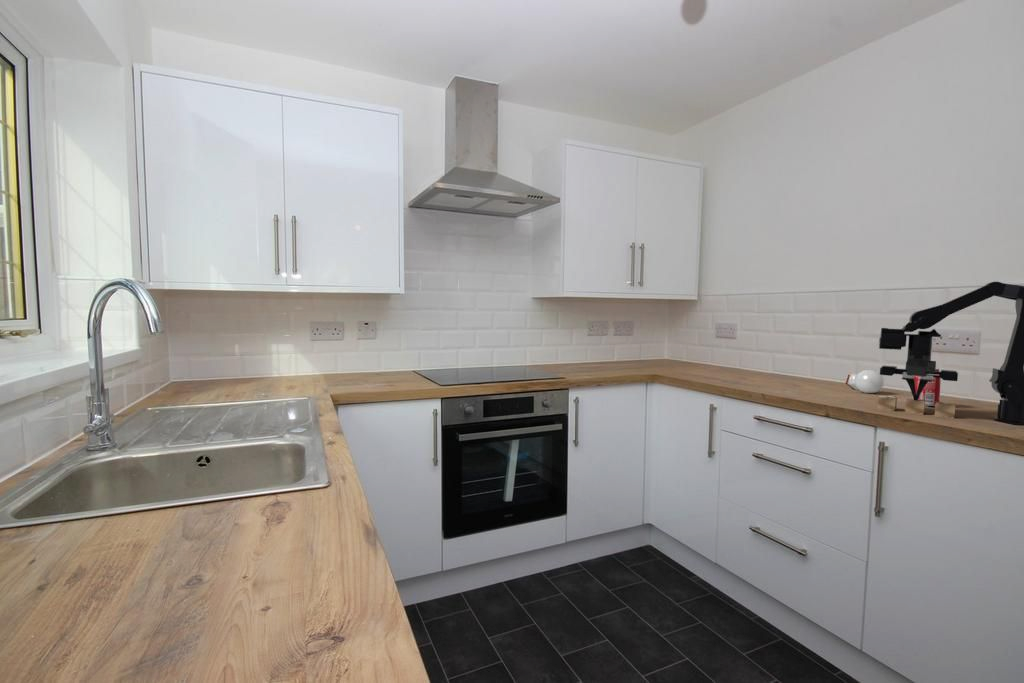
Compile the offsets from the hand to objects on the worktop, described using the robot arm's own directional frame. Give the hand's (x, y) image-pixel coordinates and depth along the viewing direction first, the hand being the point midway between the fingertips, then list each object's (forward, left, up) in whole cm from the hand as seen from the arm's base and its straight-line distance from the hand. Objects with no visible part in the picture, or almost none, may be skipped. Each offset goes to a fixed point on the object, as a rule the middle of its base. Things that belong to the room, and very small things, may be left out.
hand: (915, 400), depth 156 cm
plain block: (0, 0, -4) cm, 4 cm away
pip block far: (+5, +5, -4) cm, 8 cm away
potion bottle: (+42, -16, -4) cm, 45 cm away
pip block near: (-5, -5, -4) cm, 8 cm away
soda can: (+12, -15, -4) cm, 20 cm away
